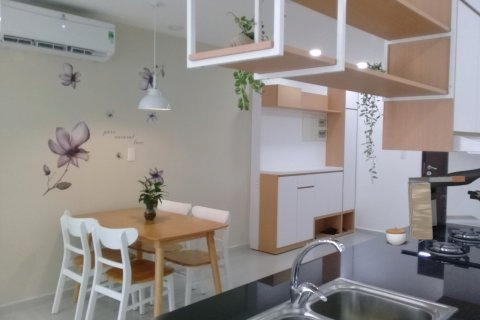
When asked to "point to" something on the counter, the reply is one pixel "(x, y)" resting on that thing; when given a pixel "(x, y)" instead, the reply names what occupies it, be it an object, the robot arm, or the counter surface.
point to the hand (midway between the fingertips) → (468, 194)
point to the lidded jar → (396, 236)
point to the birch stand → (420, 208)
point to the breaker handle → (447, 179)
